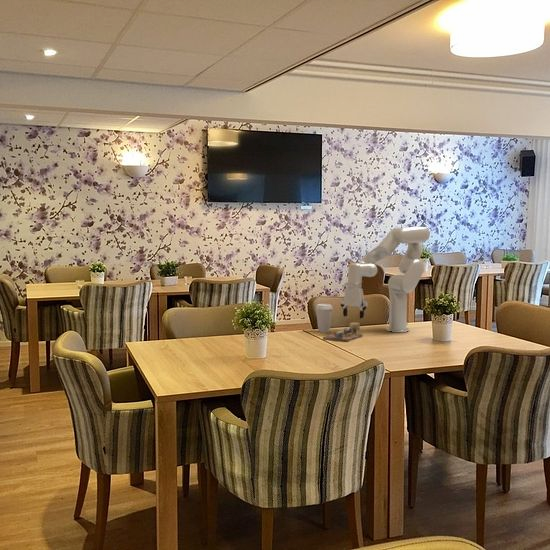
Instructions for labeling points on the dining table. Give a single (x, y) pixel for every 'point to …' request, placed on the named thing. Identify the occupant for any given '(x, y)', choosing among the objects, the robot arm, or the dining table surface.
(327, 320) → the coffee cup
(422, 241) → the robot arm
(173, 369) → the dining table surface
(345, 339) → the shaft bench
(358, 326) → the coupler
